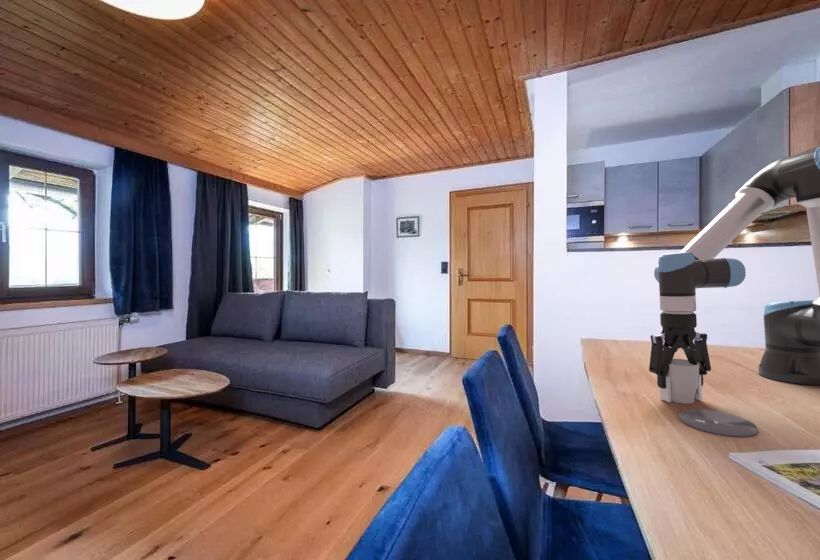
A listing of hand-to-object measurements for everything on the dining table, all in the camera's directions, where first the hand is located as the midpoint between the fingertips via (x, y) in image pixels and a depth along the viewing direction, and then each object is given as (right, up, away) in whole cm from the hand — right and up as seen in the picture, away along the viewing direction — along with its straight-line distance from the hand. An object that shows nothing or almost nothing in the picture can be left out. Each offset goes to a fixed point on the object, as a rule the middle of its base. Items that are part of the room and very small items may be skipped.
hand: (680, 399), depth 92 cm
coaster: (-3, -1, -14) cm, 15 cm away
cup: (0, 0, 0) cm, 0 cm away
